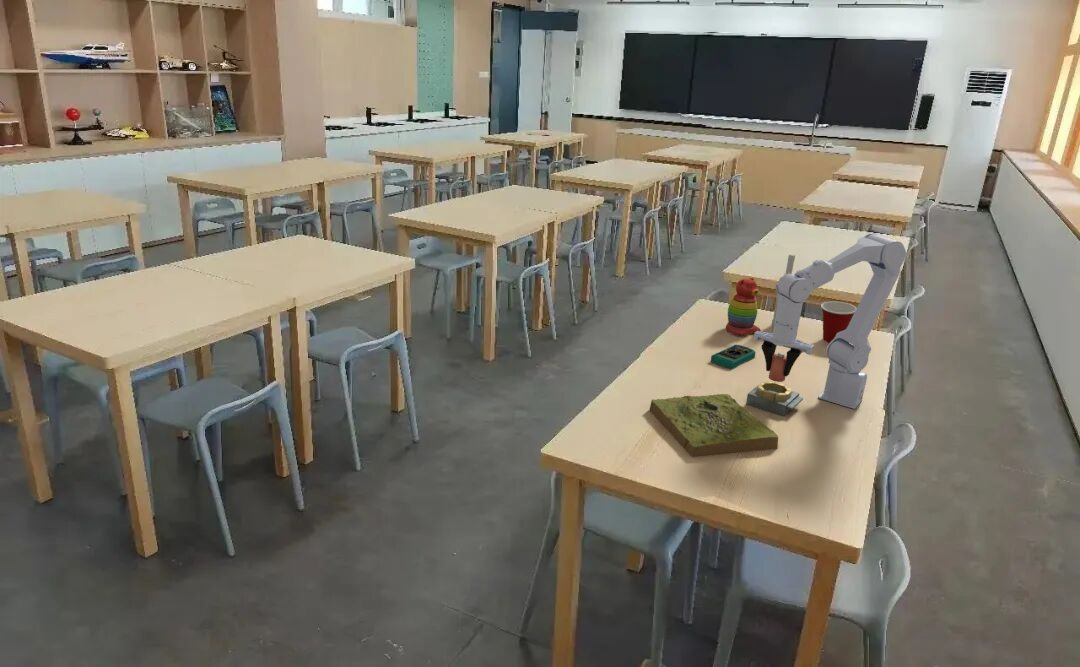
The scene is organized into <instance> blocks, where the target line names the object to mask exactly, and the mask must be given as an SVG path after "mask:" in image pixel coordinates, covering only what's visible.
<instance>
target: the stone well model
mask: <svg viewBox="0 0 1080 667" xmlns="http://www.w3.org/2000/svg"><path fill="white" fill-rule="evenodd" d="M803 400H804V397H802V396H800V392H797V391H793V390H792V388H790V387H789V386H788V385H786V384H783V383H781V382H776V381H761V382H760V383H758V384H757V386H756V387H754V388H753V389H751V390H750V391H749V392H747V394H746V401H745V404H746V406H747V405H748V406H750V407H753V408H757V409H761V410H763V411H766V412H769V413H771V414H772V413H773V414H775V415H778V416H782V417H785V416H786V415H787V414H788V413H789V412H790V411H793V409H795V407H797V406H798V405H799V404H800V403H801V402H802V401H803Z"/></svg>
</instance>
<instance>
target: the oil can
mask: <svg viewBox="0 0 1080 667" xmlns="http://www.w3.org/2000/svg"><path fill="white" fill-rule="evenodd" d="M786 359H787V355H786V354H785V353H783V352H778V353H775V354H774V355H773V356H772V362H771V367H770V371H768V372H769V373H768V379H769V380H771V381H772V382H777V383H782V382H785V380H786V376H784V371H785V367H786Z"/></svg>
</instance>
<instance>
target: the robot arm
mask: <svg viewBox="0 0 1080 667" xmlns="http://www.w3.org/2000/svg"><path fill="white" fill-rule="evenodd" d="M907 255H908V254H907V251H906V248H905V246H904V244H903V243H902V241H898V240H894V239H892V238H888V237H885V236H883V235H879V234H877V233H875V232H870V233H867V234H866V235H864V236H861V237H860V238H858V239H857V242H856V243H855V244H853V245H851V246H850V247H848V248H847V249H845V250H843V251H842V252H841V253H839V254H837V255H836V256H834V257H832V258H830V259H829V260H827V261H826V260H823V259H820V260H818V259H816V260H814V261H812V264H810V265H808V266H807V267H804V268H802V269H798V270H797V271H796V272H795V273H794V274H793V273H792V274H786V275H784V274H783V275H782V276H783V277H782V276H781V277H779V279H780V280H779V279H778V282H777V283H775V290H776V293H777V292H778V306H777V312H776V317H775V323H774V327H773V330H772V332H764V331H757V332H755V334H753V340H755V341H761V342H763V343H762V344H761V347H760V348H761V350H762V352H763V356H764V360H765V371H766V372H770V367H771V362H772V356H773V355H774V354H776V353H775V352H776V349H777V346H779V347H783V348H787V349H789V350H788V351H787V352H786V356H787V359H786V367H785V371H784V376H785V378H786V377H788V376H789V375H790V373H791V370H792V369H793V366H794V364H795V363H796V361H797V359H798V358H799V357H800V355H802V353H805V354H806V355H809V356H810V355H811V354H813V352H814V345H813V344H810V343H807V342H804V341H801V340H799V339H797V334H798V330H799V326H800V320H801V314H802V310H803V304H804V301H806V300H807V299H808V298H809V297H810V295H811V293H813V292H814V291H815V290H817V289H819V288H820V287H822V286H825V284H827V283H830V282H832V281H833V279H834V277H835V274H837V273H839V272H842V271H843V270H845V269H847V268H850V267H852V266H855V265H856V264H857V265H858V264H859V263H861V262H865V263H866V262H867V263H868V264H869V265H870V268H871V270H872V272H873V275H872V277H871V279H870V281H869V283H868V284H867V287H866V289H865V291H864V293H863V295H862V297H861V298H860V301H859V303H858V304H857V307H856V308H857V309H856V311H855V313H854V315H853V317H852V319H851V321H850V323H849V325H848V327H847V329H846V330H843V331H841V332H838V333H837V334H836V336H835V338H834V339H833V340H832V341H831V342H830V343H828V344H827V347H826V349H825V355H826V357H827V358H828V364H829V365H828V366H829V367H828V371H827V376H826V381H825V386H824V390H823V391H822V392H821V393H820V394H819V395H818V397H817V398H818V399H820V400H824V401H827V402H830V403H834V404H835V405H836V404H837V405H839V406H844V407H847V408H850V409H853V410H854V409H856V408H857V407H858V405H860V403H861V402H862V401H863V399H864V398H863V396H864V393H865V388H866V384H867V379H868V374H867V373H865V372H863V370H864V369H865V368H866V367H867V365H868V362H869V356H870V353H871V351H872V348H871V345H870V342H869V340H868V338H869V335H870V334H871V332H872V330H873V327H874V325H875V324H876V322H877V320H878V318H879V316H880V314H881V311H882V310H883V307H884V306H885V304H886V302H887V300H888V298H889V297H890V294H891V292H892V290H893V288H894V286H895V284H896V282H897V281H898V278H899V276H900V272H901V267H902V265H903V263H904V262H905V259H906V257H907Z"/></svg>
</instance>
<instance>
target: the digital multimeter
mask: <svg viewBox="0 0 1080 667" xmlns="http://www.w3.org/2000/svg"><path fill="white" fill-rule="evenodd" d="M755 357H756V351H755V350H754V349H752V348H750V347H747V346H745V345H740V344H734V345H732V346H730V347H727V348H725V349H723V350H721V351H719V352H716V353H714V354H711V357H710V362H711V363H713V364H715V365H718V366H721V367H723V368H727V369H731V370H733V369H735V368H736V367H738V366H740V365H742V364H744V363H745V362H748V361H750V360H752V359H755Z"/></svg>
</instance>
